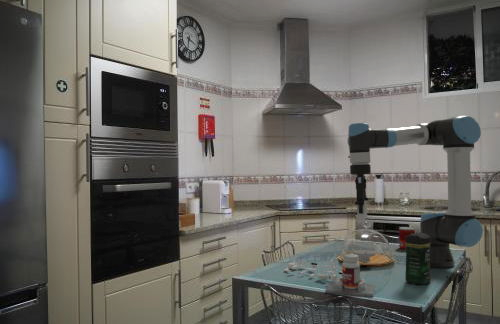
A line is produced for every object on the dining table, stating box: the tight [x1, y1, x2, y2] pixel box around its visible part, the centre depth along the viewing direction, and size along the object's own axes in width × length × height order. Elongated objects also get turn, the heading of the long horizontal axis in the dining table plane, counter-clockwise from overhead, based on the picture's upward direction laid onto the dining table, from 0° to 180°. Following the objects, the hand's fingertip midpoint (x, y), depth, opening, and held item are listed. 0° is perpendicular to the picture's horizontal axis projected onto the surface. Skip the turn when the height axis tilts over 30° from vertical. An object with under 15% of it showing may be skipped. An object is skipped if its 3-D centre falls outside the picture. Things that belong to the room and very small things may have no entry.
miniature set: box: [283, 258, 342, 281], centre depth 164 cm, size 6×35×12 cm
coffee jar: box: [405, 232, 432, 285], centre depth 153 cm, size 10×8×19 cm
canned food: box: [398, 226, 416, 251], centre depth 217 cm, size 8×8×11 cm
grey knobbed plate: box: [325, 276, 376, 298], centre depth 144 cm, size 16×12×4 cm
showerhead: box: [352, 248, 376, 264], centre depth 179 cm, size 9×7×10 cm
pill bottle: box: [341, 253, 361, 289], centre depth 144 cm, size 6×6×11 cm
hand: (362, 219), depth 153 cm, fingers open, 13 cm apart
